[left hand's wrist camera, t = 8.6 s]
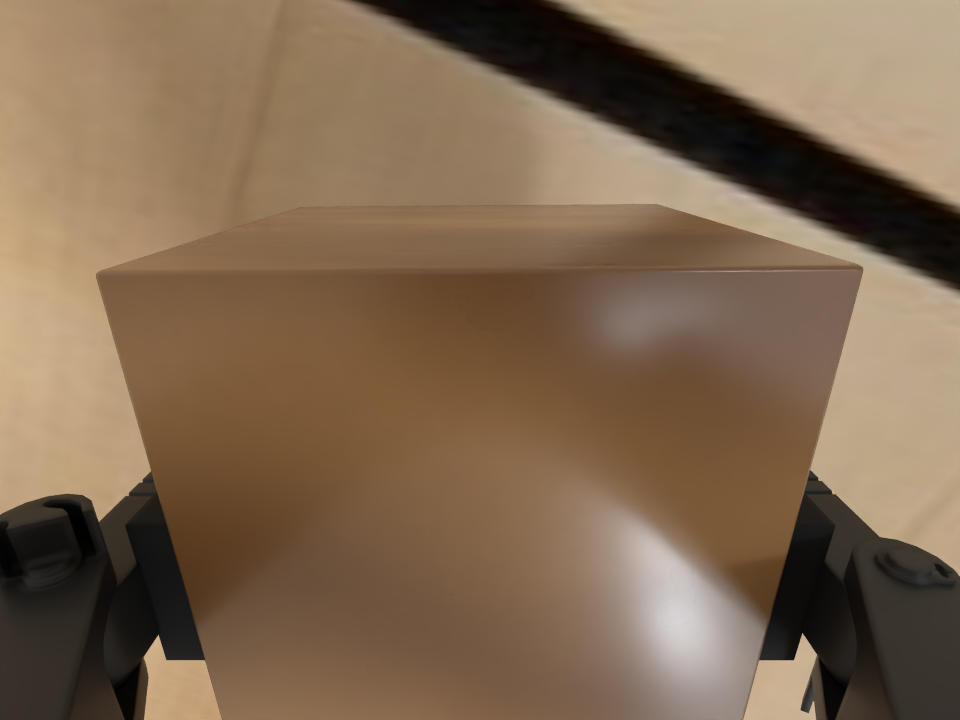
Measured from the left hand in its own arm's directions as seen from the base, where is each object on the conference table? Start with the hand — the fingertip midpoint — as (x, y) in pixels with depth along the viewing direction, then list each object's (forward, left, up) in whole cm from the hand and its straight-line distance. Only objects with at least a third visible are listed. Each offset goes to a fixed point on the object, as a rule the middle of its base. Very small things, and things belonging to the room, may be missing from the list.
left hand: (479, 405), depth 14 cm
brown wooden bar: (+11, +20, -1) cm, 23 cm away
